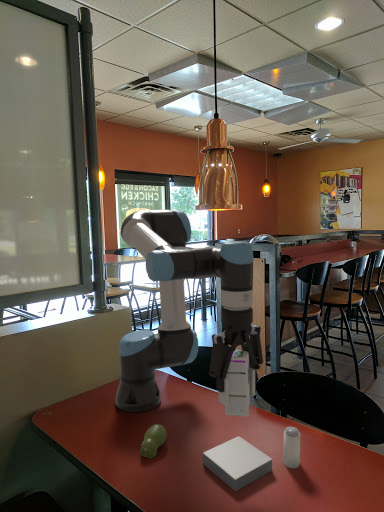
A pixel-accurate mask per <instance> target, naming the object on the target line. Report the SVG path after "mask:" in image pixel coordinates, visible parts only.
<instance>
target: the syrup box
mask: <svg viewBox="0 0 384 512" xmlns="http://www.w3.org/2000/svg"><path fill="white" fill-rule="evenodd" d="M226 378H228V397H229V405H228V406H225V405H224V414H225V415H226V416H234V417H246V418H248V417H249V416H250V408H251V398H250V397H251V395H250V379H249V353H248V352H247V351H245V350H243V349H242V348H241V349H240V348H236V350H235V351H234V352H233V355H232V358H231V361H230V364H229V368H228V371H227V374H226Z"/></svg>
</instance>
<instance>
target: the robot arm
mask: <svg viewBox="0 0 384 512" xmlns="http://www.w3.org/2000/svg"><path fill="white" fill-rule="evenodd" d="M120 236H121V239H122V240H123V242H124V243H125V244H127V245H128V246H129V247H131V248H133V249H135V250H136V251H137V252H138V253H139V254H140V255H141V256H142V257H143V259H144V260H145V271H146V273H147V277H148V279H149V280H151V281H152V282H158V284H159V286H158V287H159V299H160V302H159V303H160V311H161V312H160V316H161V317H160V318H161V323H160V324H159V325H158V326H157V333H154V332H153V331H152V330H151V329H139V330H135V331H131V332H129V333H126V334H124V336H122V337H121V338H120V340H119V346H118V347H119V349H118V356H119V358H118V359H119V376H120V377H119V384H118V388H117V391H116V395H115V406H116V407H117V408H118V409H119V410H121V411H124V412H129V413H141V412H146V411H147V412H148V411H150V410H153V409H154V408H156V407H157V406H159V405H160V404H161V400H162V399H161V398H162V397H161V396H162V394H161V389H160V387H159V385H158V381H157V379H156V370H160V369H165V368H171V367H172V368H173V367H176V366H183V365H186V364H190V363H193V362H194V361H195V359H196V357H197V356H198V352H199V339H198V334H197V331H195V329H193V328H192V325H191V323H189V322H188V320H187V313H186V298H185V297H186V295H185V280H188V279H189V280H190V279H203V278H212V277H213V278H219V279H220V305H221V306H222V307H221V308H220V320H221V324H222V330H221V332H220V333H217V334H216V333H213V334H212V335H211V342H212V346H211V347H212V348H211V355H210V364H209V371H208V375H209V376H210V377H212V378H214V379H216V391H218V403H220V404H221V405H222V406H224V407H225V406H228V405H229V397H228V378H226V374H227V371H228V368H229V364H230V361H231V358H232V355H233V352H234V351H235V350H236V349H237V347H239V346H240V348H241V349H243V350H245V351H247V352H248V353H249V379H250V396H253V397H254V396H256V381H257V374H258V373H257V372H258V371H259V370H260V369H261V365H263V363H264V359H263V351H262V350H263V348H262V341H261V331H262V328H261V326H258V325H255V324H253V322H254V309H253V307H252V306H253V305H254V300H253V298H254V261H255V258H254V250H253V244H252V243H251V242H250V241H244V240H243V241H242V240H238V241H237V240H234V241H233V240H232V241H223V242H222V243H221V245H220V247H219V246H216V245H214V246H212V245H211V246H205V247H198V248H187V243H189V242H190V241H191V238H192V237H191V236H192V225H191V222H190V219H189V217H188V215H187V214H186V213H185V212H184V211H182V210H177V209H152V210H151V209H142V210H137V211H134V212H132V213H130V214H128V215H127V216H126V217H125V218H124V220H122V223H121V225H120Z"/></svg>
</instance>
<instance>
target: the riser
mask: <svg viewBox="0 0 384 512" xmlns="http://www.w3.org/2000/svg"><path fill="white" fill-rule="evenodd" d="M202 454H203V455H202V456H203V457H202V458H203V459H202V460H203V461H202V464H203V465H204V466H205V467H206V468H208V470H210V472H212V473H213V474H214V475H215V476H217V477H218V478H219V479H220V480H221V481H222V482H224V483H225V484H226V485H227V486H228V487H229V488H230V489H231V490H233V491H234V492H237V491H240V490H241V489H242V488H244V487H246V486H247V485H249V484H251V483H253V482H255V481H256V480H258V479H260V478H261V477H263V476H265V475H267V474H269V473H271V472H272V471H273V458H271V457H270V456H268V455H267V454H265V453H264V452H263V451H261V450H260V449H258V448H256V447H255V446H254V445H253V444H251V443H249V442H248V441H246V439H244V438H242V437H240V435H239V436H236V437H233V438H232V439H230V440H227V441H225V442H223V443H220V444H219V445H217V446H215V447H213V448H210V449H208V450H205V451H204V452H202Z"/></svg>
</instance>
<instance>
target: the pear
mask: <svg viewBox="0 0 384 512" xmlns="http://www.w3.org/2000/svg"><path fill="white" fill-rule="evenodd" d="M167 436H168V435H167V430H166V428H165V426H164V425H161V424H159V423H157V424H152V425H151V426H150V427H149V428H148V429H147V430H146V431H145V433H144V436H143V441H142V443H141V444H140V446H141V448H140V450H139V452H140V456H141V457H144V458H147V459H154V457H156V455H157V453H158V448H159V447H161V446H162V445H163V444H164V443H165V442H166V439H167Z"/></svg>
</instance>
